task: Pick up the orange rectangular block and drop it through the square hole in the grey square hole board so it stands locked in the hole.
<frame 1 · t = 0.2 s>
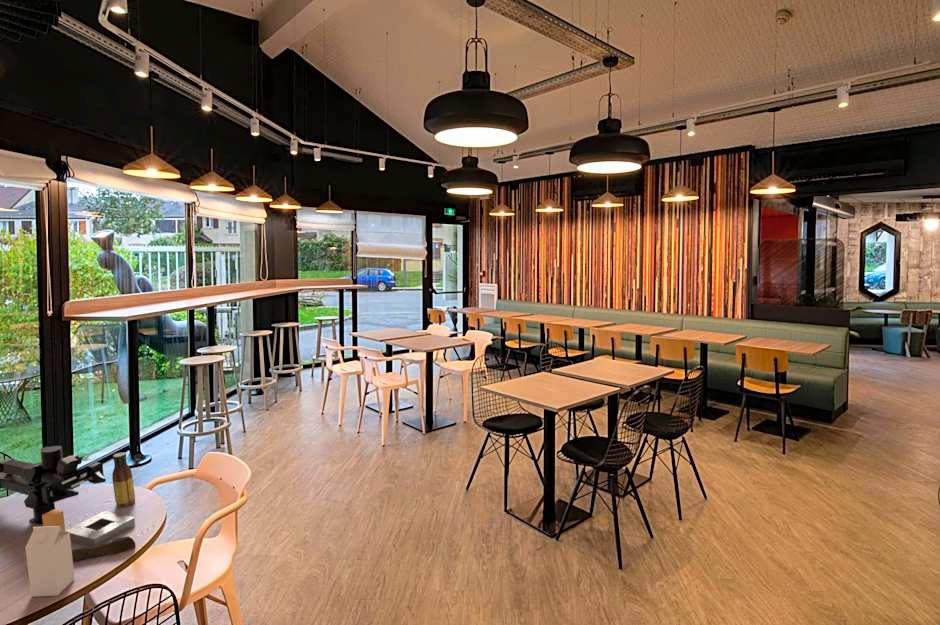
hand: (91, 486, 175), 16 cm above the table, tool horizontal, fingers open, 9 cm apart
milk carton: (53, 589, 149), on the table
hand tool: (100, 555, 165), on the table
sauce bottle: (125, 504, 196), on the table
grey square hole board: (100, 532, 177), on the table
orange rectangular block: (55, 535, 175), on the table
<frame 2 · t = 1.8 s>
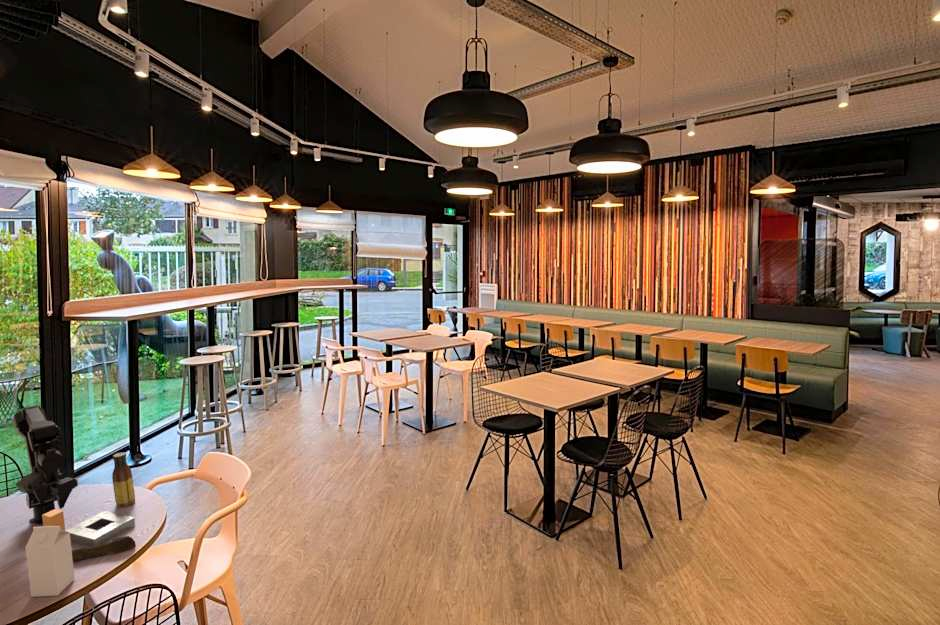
hand: (51, 505, 174), 10 cm above the table, tool pointing down, fingers open, 9 cm apart
nothing on the table moved.
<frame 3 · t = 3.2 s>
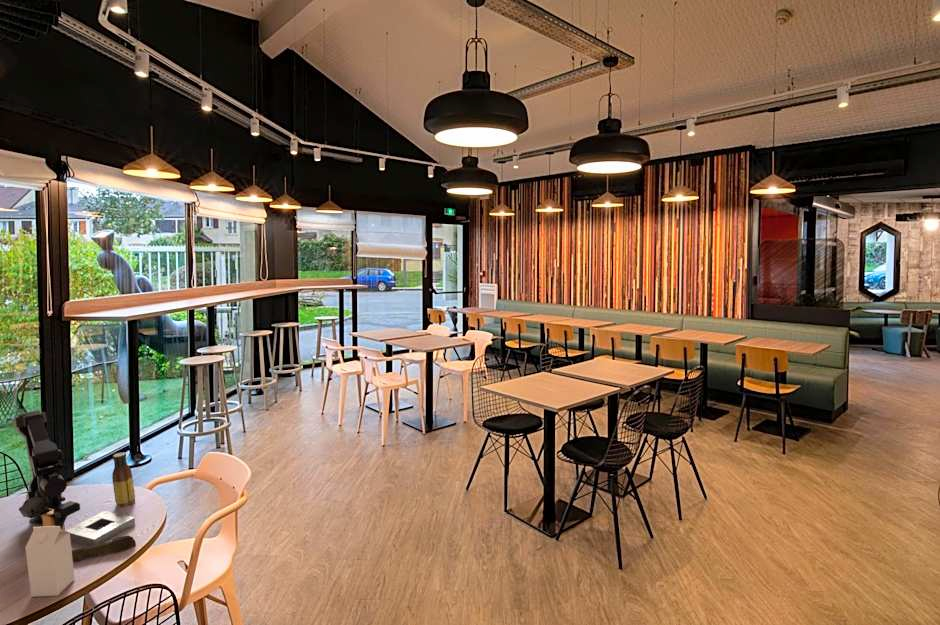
hand: (54, 529, 175), 2 cm above the table, tool pointing down, fingers closed on orange rectangular block, 4 cm apart
orange rectangular block: (54, 535, 175), on the table, touching gripper
everything else where it was.
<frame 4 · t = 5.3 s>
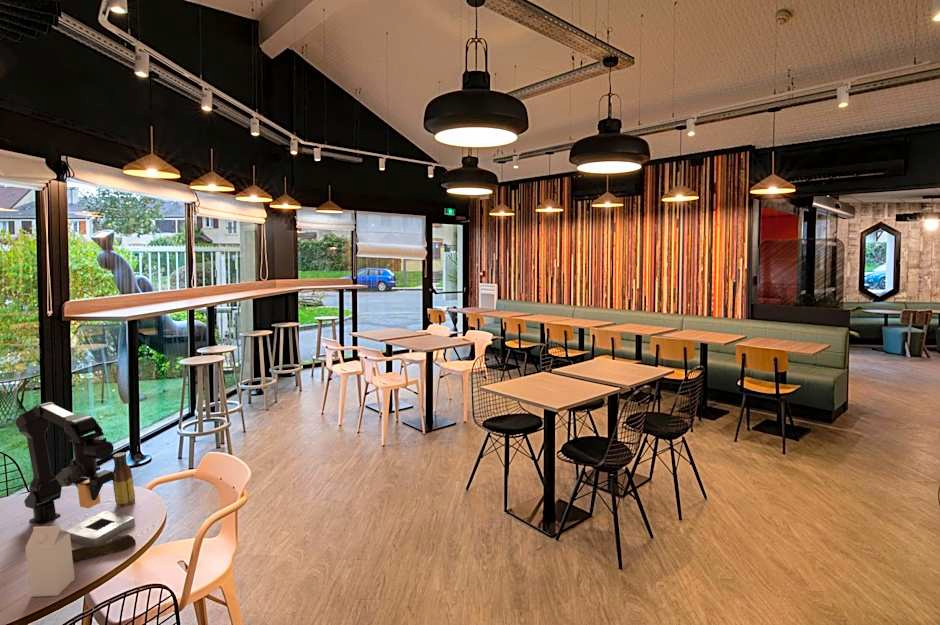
hand: (89, 498, 175), 12 cm above the table, tool pointing down, fingers closed on orange rectangular block, 4 cm apart
orange rectangular block: (90, 504, 175), point 10 cm above the table, touching gripper
everything else where it was.
when the fingers open (4 cm above the table, at t = 7.7 s): orange rectangular block drops 2 cm, resting in grey square hole board.
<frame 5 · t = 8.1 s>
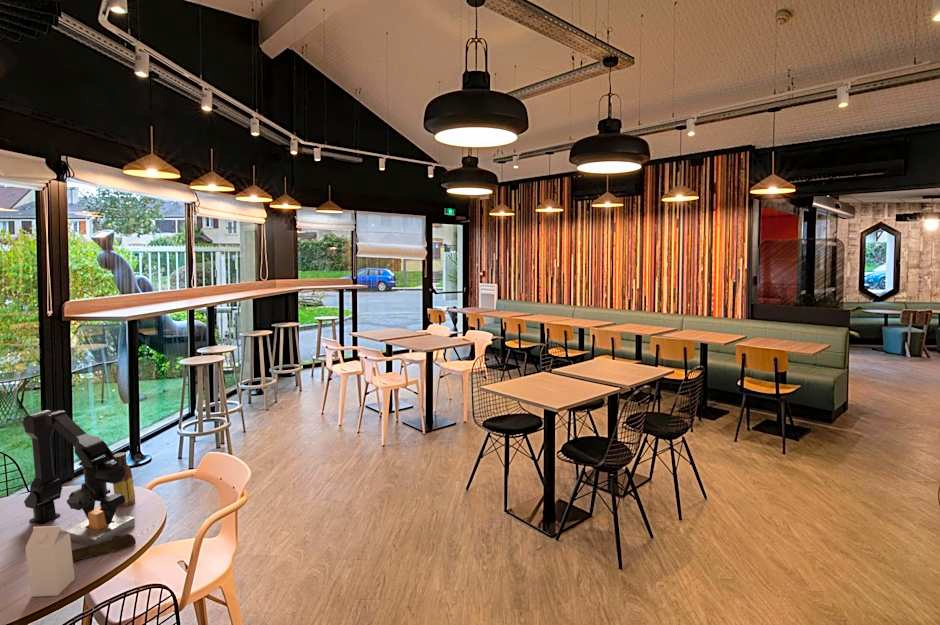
hand: (99, 521, 176), 4 cm above the table, tool pointing down, fingers open, 8 cm apart
orange rectangular block: (100, 532, 177), resting in grey square hole board
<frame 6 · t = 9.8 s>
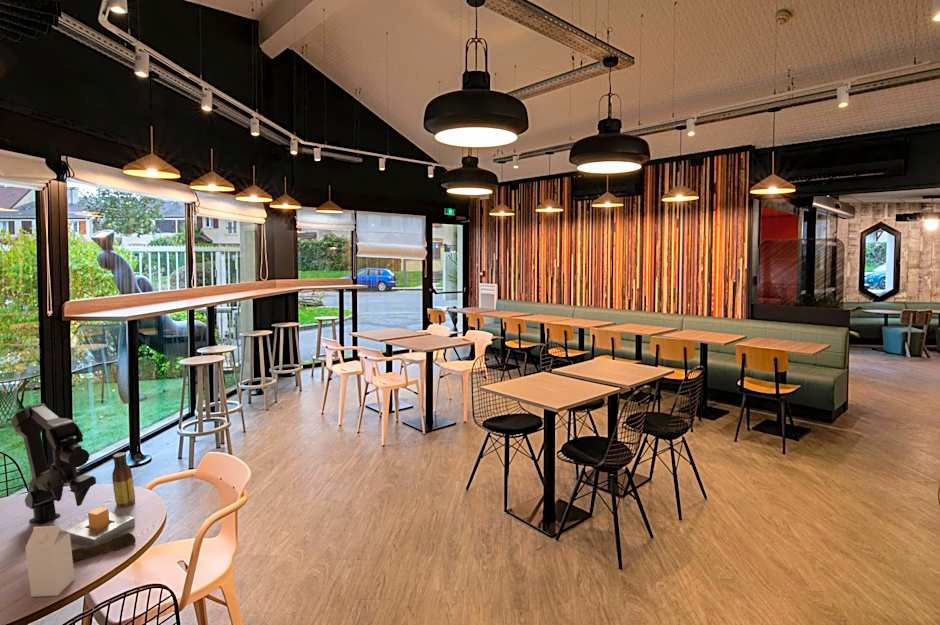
hand: (69, 503, 173), 12 cm above the table, tool pointing down, fingers open, 9 cm apart
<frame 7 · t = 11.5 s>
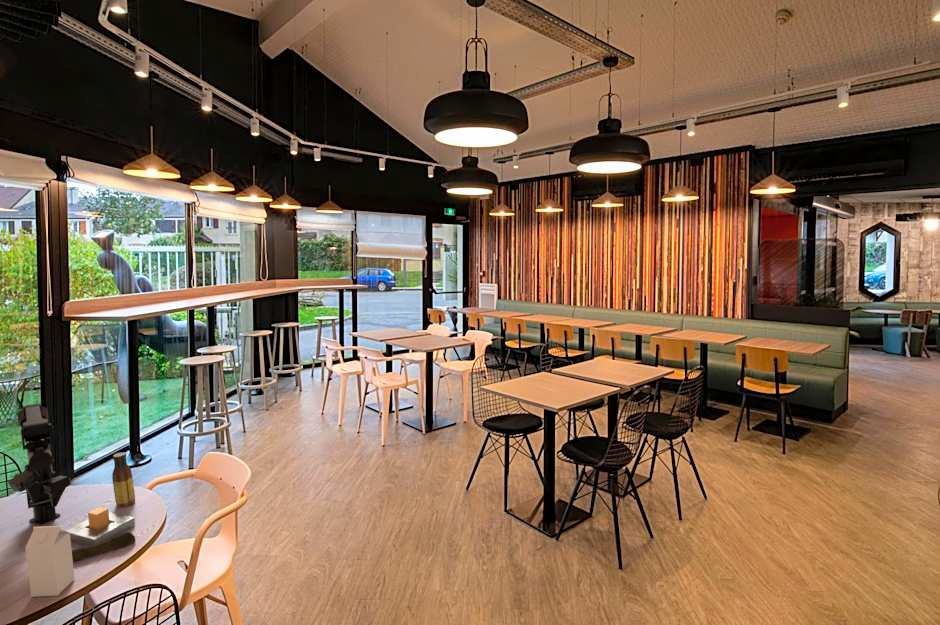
hand: (44, 504, 172), 12 cm above the table, tool pointing down, fingers open, 9 cm apart
at the end: orange rectangular block 0.1 cm off-centre on the grey square hole board, point 0.0 cm above the grey square hole board's base; orange rectangular block tilted 0°; the gripper is holding nothing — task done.
